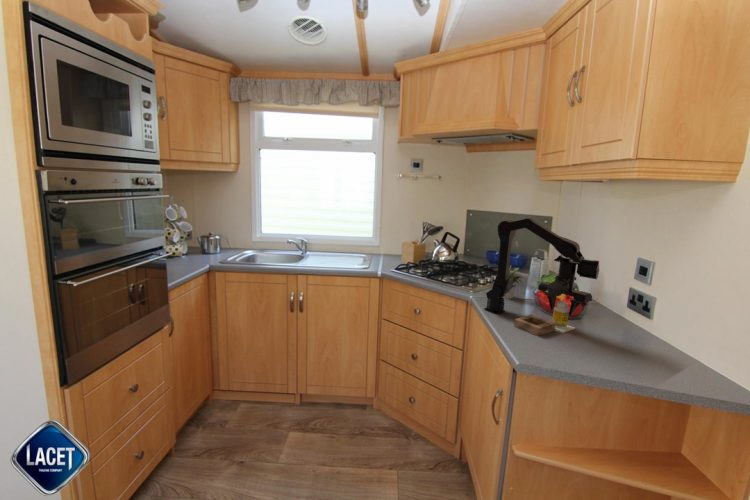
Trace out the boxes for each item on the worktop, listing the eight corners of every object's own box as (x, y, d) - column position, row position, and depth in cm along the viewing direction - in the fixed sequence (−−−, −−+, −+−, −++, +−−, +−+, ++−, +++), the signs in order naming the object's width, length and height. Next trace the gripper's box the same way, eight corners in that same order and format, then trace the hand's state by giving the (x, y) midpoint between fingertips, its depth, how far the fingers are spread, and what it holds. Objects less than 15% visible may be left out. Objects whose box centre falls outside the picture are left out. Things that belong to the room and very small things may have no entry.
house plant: (492, 300, 178) (495, 266, 175) (487, 291, 191) (490, 260, 188) (523, 302, 176) (527, 269, 173) (516, 294, 190) (519, 262, 187)
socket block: (513, 326, 146) (514, 319, 146) (530, 321, 152) (531, 314, 151) (538, 336, 138) (539, 328, 137) (554, 330, 143) (555, 323, 143)
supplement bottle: (556, 322, 151) (560, 299, 149) (569, 327, 147) (573, 303, 145) (548, 324, 148) (552, 301, 146) (561, 329, 144) (565, 305, 142)
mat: (543, 325, 148) (544, 324, 148) (555, 322, 153) (555, 320, 153) (563, 332, 142) (563, 331, 142) (574, 328, 146) (574, 327, 146)
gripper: (532, 270, 147) (527, 308, 149) (579, 282, 131) (573, 324, 134) (548, 268, 153) (543, 304, 156) (595, 279, 137) (589, 319, 140)
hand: (561, 312), depth 146 cm, fingers open, 7 cm apart
